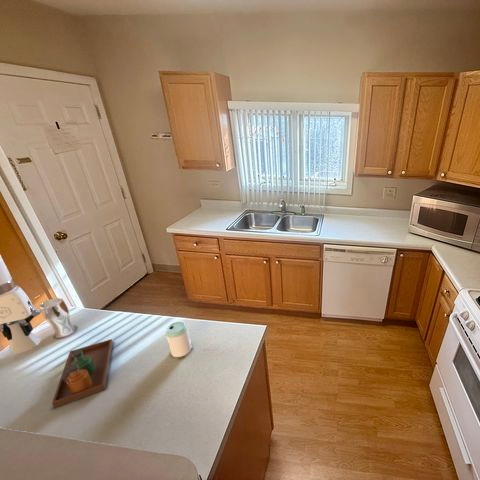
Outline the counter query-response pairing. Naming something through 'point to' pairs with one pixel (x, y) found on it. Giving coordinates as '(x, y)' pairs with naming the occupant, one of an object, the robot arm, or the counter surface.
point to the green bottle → (84, 361)
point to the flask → (21, 338)
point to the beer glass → (57, 316)
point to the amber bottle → (78, 379)
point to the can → (178, 339)
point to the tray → (99, 377)
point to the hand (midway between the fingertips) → (20, 334)
